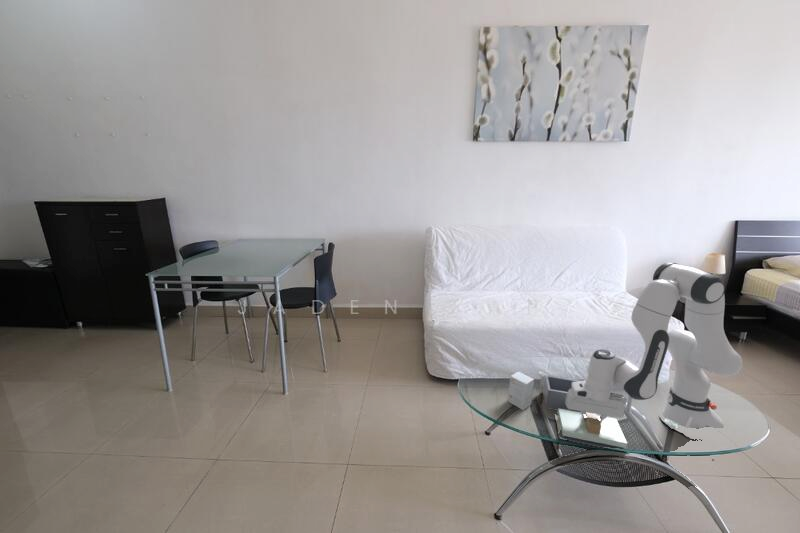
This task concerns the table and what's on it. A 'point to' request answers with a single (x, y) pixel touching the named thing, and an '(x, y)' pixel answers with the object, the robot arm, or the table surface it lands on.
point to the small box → (520, 390)
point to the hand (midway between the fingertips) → (591, 421)
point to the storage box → (556, 392)
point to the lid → (591, 428)
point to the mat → (588, 442)
